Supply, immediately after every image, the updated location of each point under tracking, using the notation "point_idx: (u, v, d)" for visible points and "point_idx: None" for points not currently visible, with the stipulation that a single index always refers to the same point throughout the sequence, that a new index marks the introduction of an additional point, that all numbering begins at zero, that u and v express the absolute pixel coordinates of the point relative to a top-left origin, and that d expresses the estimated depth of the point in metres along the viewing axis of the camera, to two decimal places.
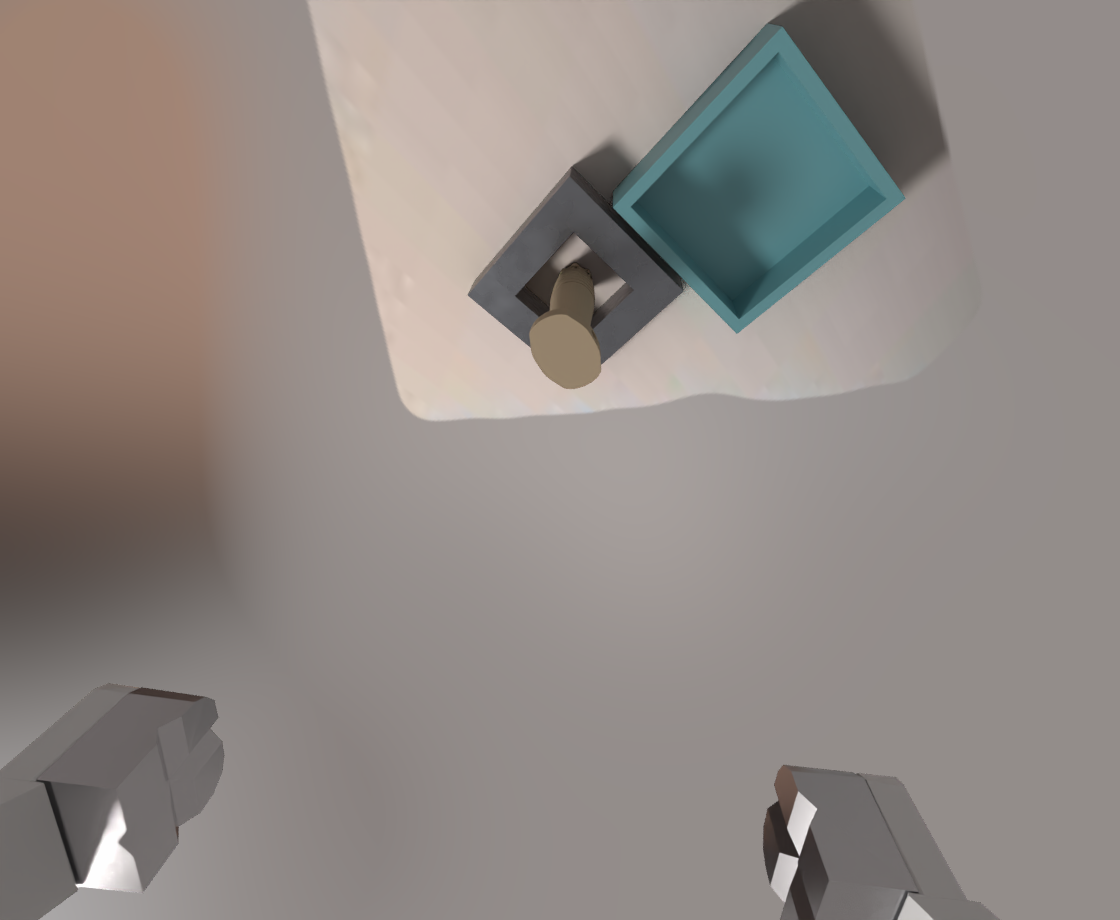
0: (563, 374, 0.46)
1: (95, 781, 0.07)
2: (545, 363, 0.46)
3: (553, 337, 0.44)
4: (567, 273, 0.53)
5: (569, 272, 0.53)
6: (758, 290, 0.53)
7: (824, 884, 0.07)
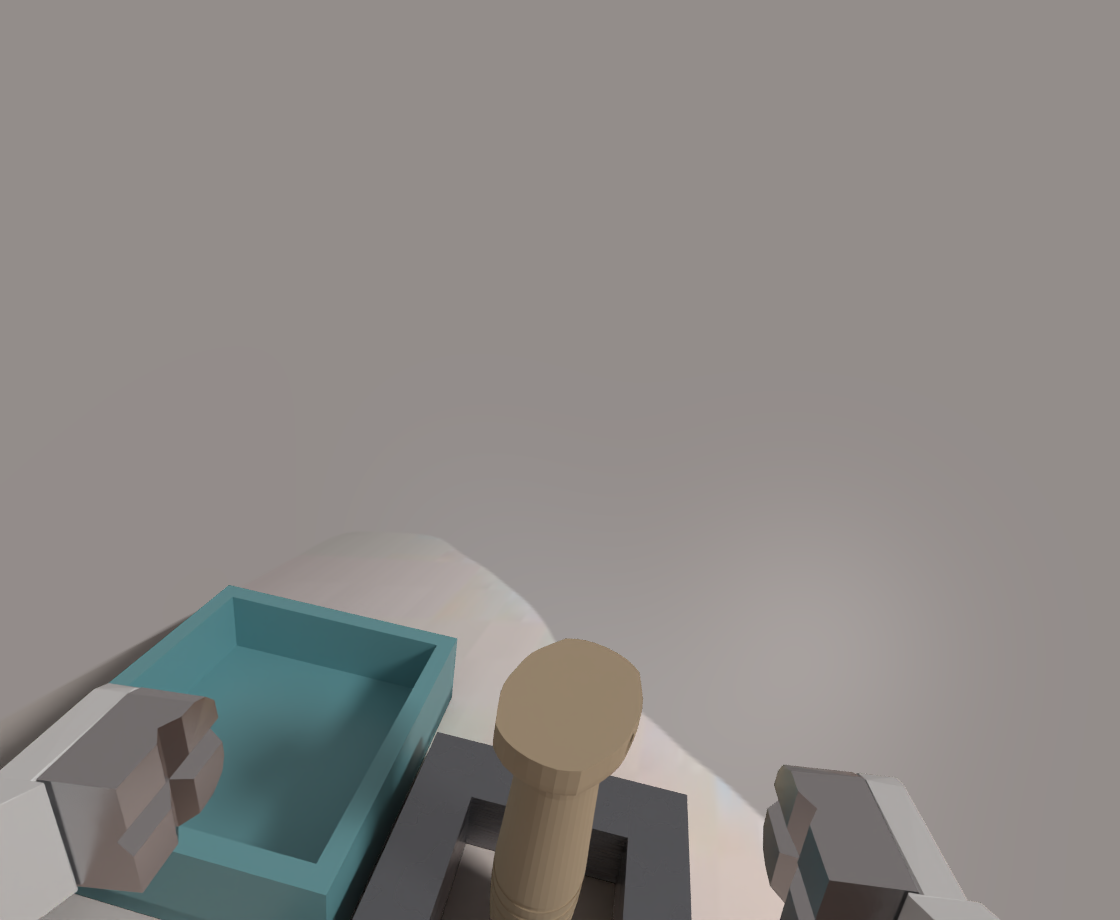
0: (615, 683, 0.22)
1: (95, 781, 0.07)
2: (618, 718, 0.21)
3: (557, 727, 0.20)
4: None
5: None
6: (397, 661, 0.38)
7: (824, 884, 0.07)
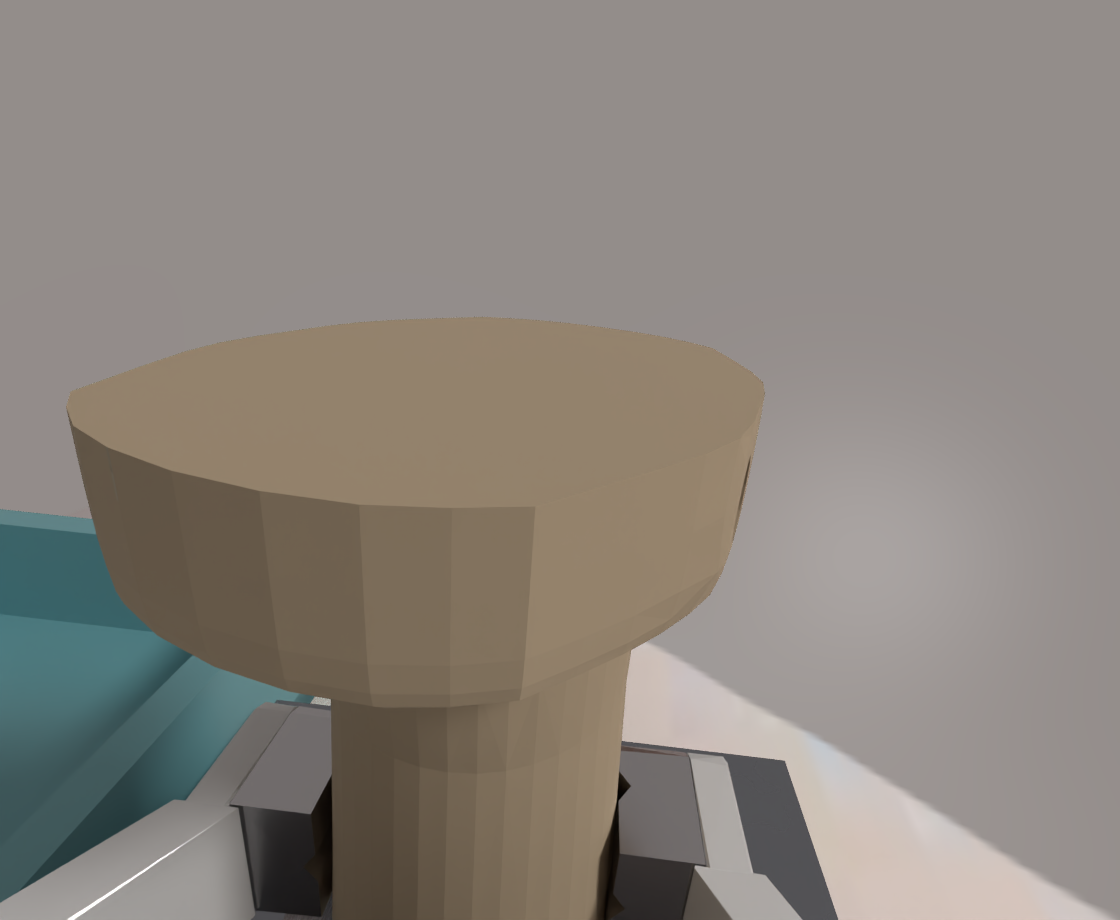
0: (646, 355, 0.07)
1: (286, 806, 0.07)
2: (685, 393, 0.05)
3: (413, 404, 0.04)
4: None
5: None
6: None
7: (619, 858, 0.07)
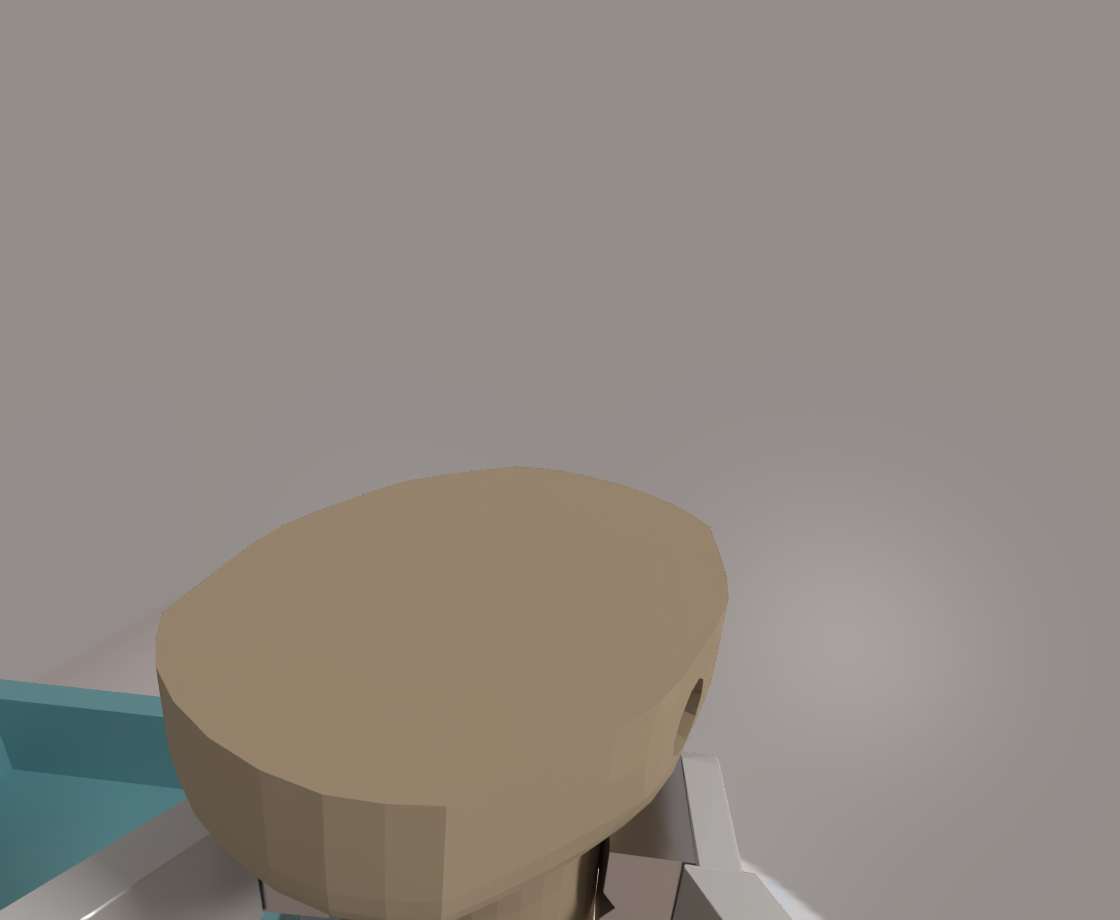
0: (639, 543, 0.07)
1: None
2: (643, 619, 0.06)
3: (405, 633, 0.05)
4: None
5: None
6: None
7: (609, 857, 0.07)
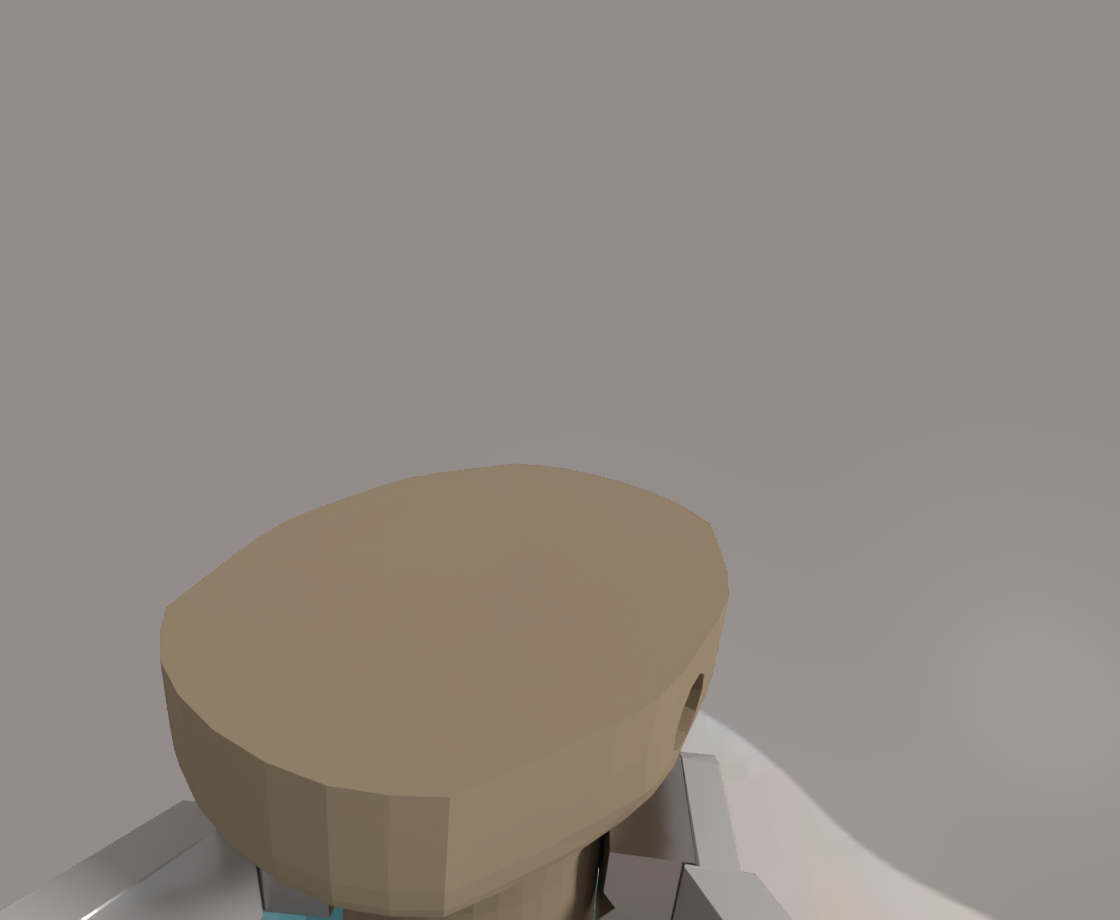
0: (640, 540, 0.07)
1: None
2: (644, 615, 0.06)
3: (407, 627, 0.05)
4: None
5: None
6: None
7: (609, 857, 0.07)
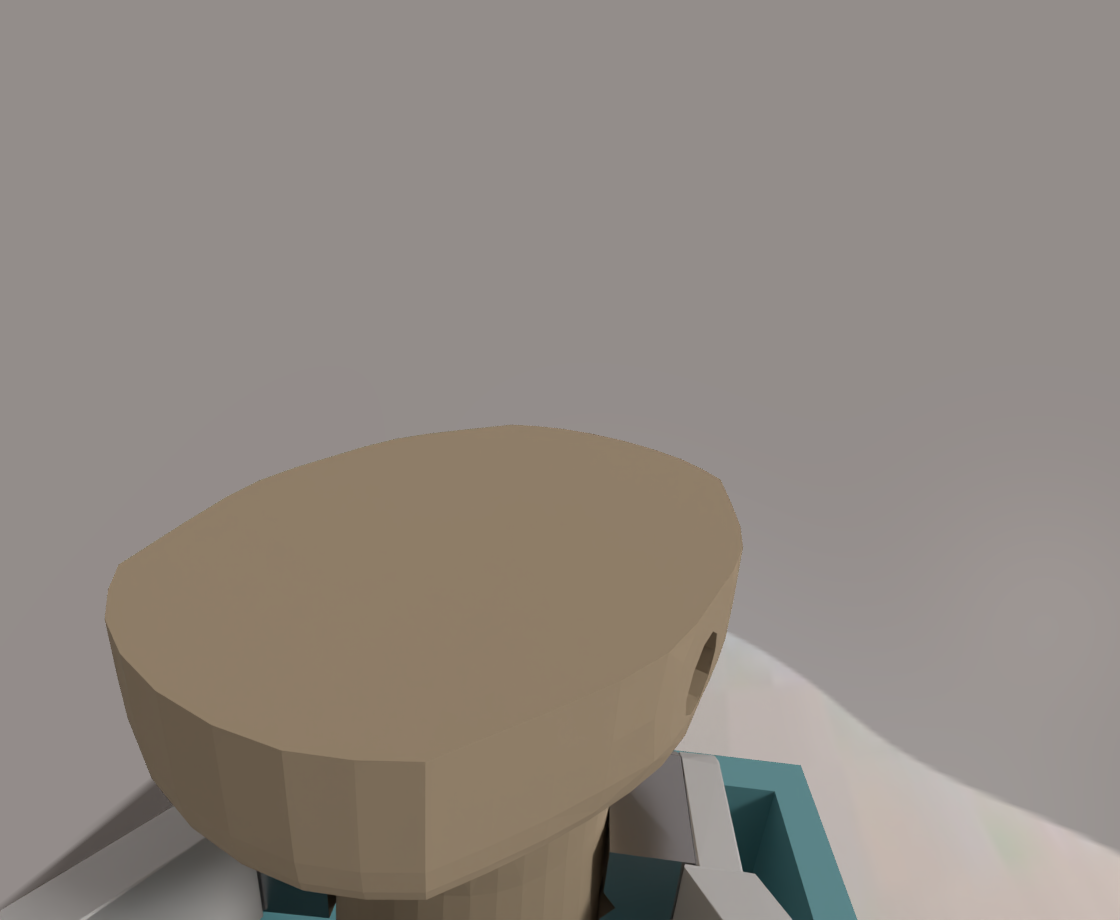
0: (645, 495, 0.07)
1: None
2: (651, 569, 0.05)
3: (387, 584, 0.05)
4: None
5: None
6: None
7: (609, 856, 0.07)
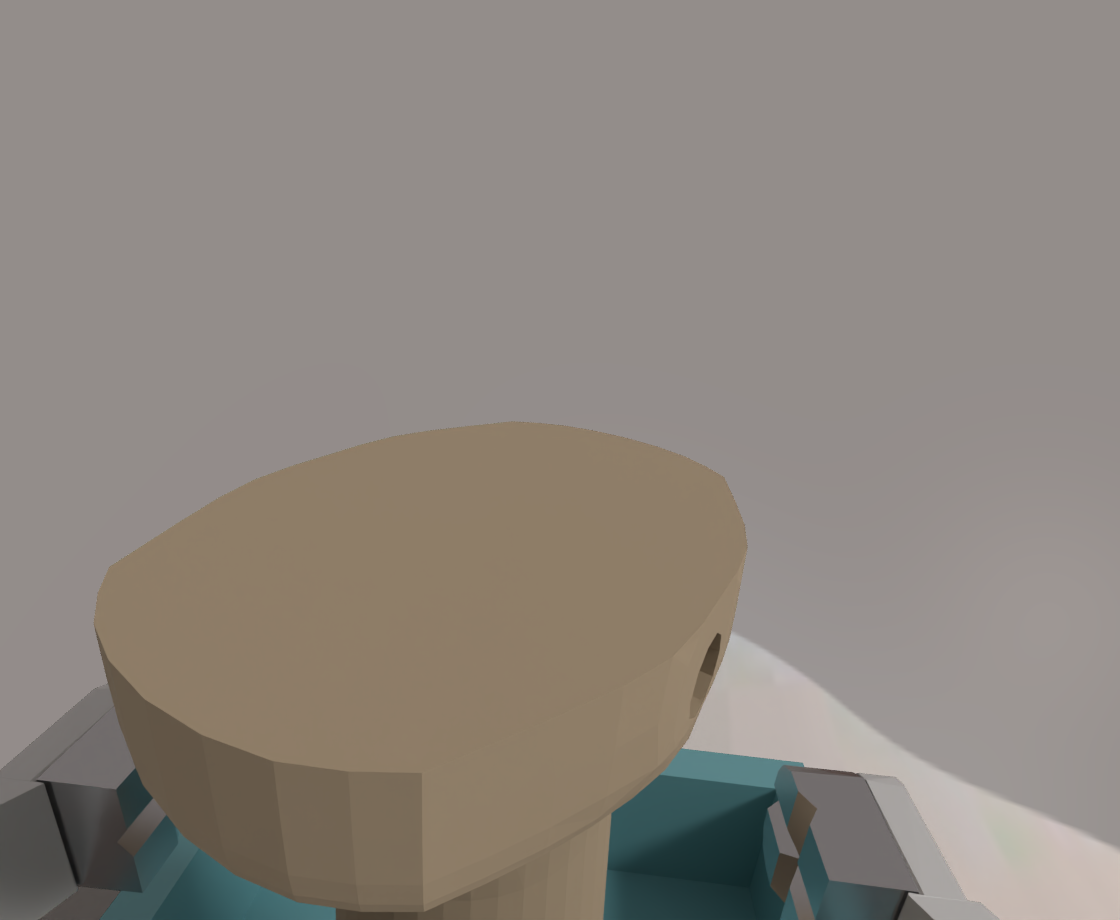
0: (647, 493, 0.07)
1: (95, 781, 0.07)
2: (654, 569, 0.05)
3: (384, 586, 0.05)
4: None
5: None
6: (672, 830, 0.17)
7: (824, 884, 0.07)
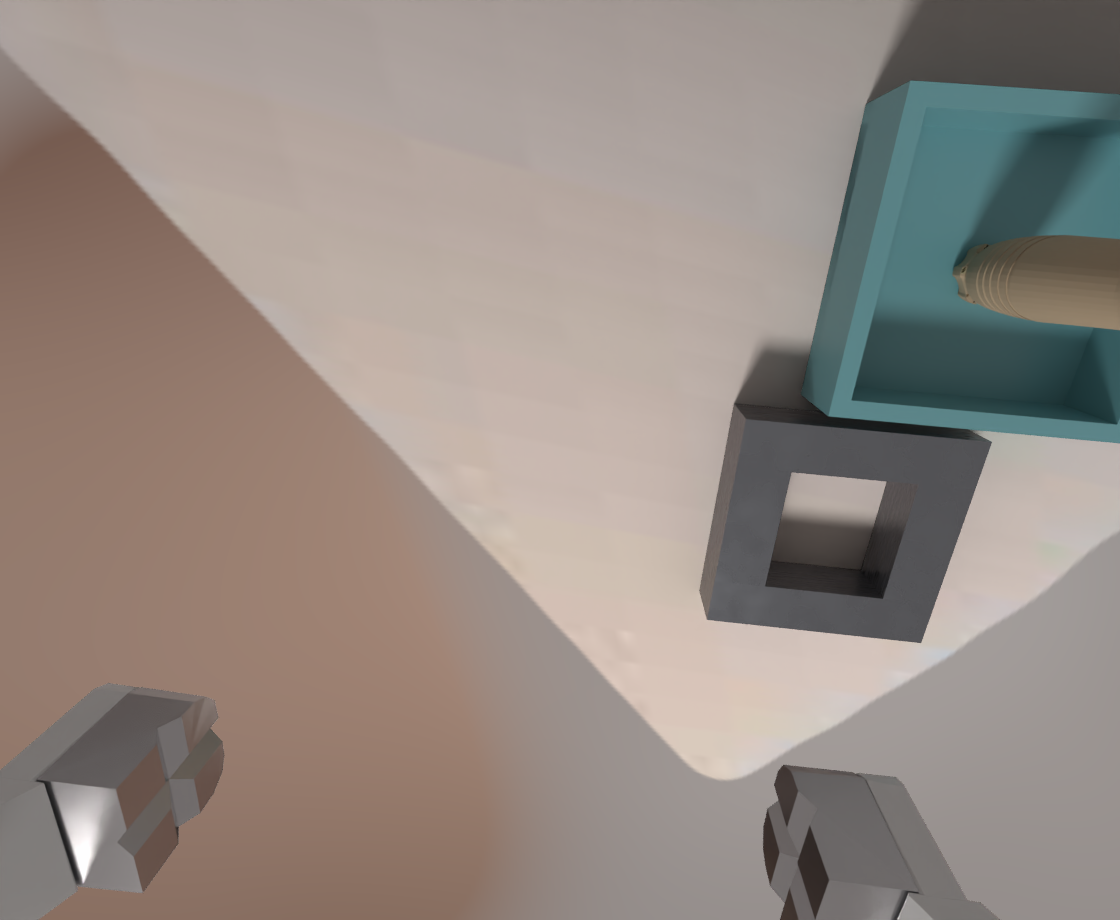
0: None
1: (95, 781, 0.07)
2: None
3: None
4: (997, 249, 0.30)
5: (999, 246, 0.30)
6: (1105, 369, 0.33)
7: (824, 884, 0.07)
